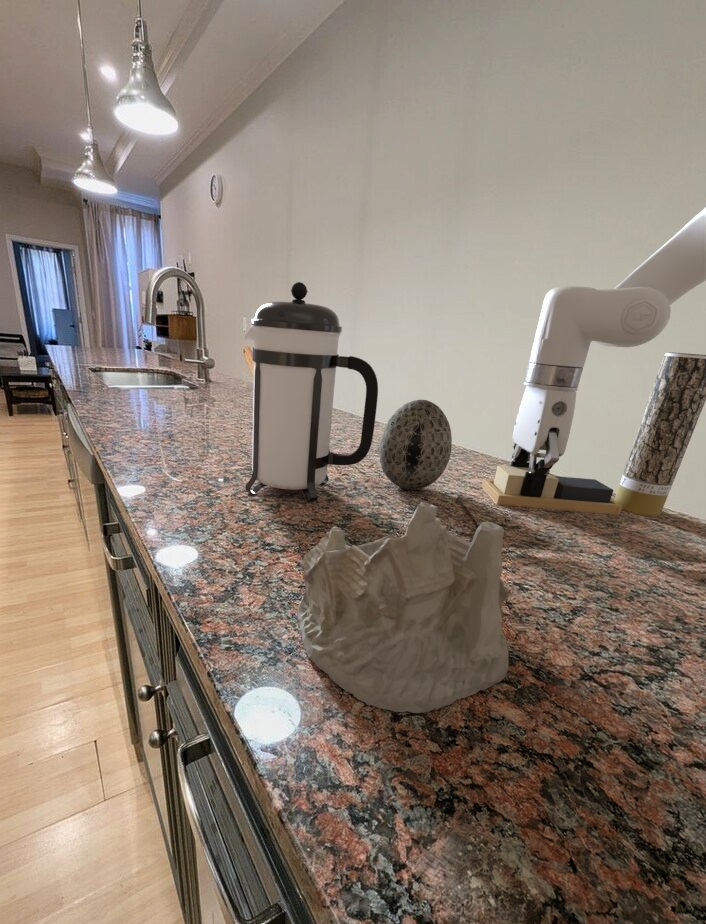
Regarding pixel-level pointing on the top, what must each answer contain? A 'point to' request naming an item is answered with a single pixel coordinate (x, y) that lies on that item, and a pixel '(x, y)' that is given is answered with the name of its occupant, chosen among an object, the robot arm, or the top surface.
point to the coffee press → (300, 395)
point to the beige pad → (520, 481)
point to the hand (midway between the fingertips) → (523, 489)
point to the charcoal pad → (582, 490)
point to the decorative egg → (415, 445)
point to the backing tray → (549, 502)
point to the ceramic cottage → (407, 614)
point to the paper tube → (663, 434)
